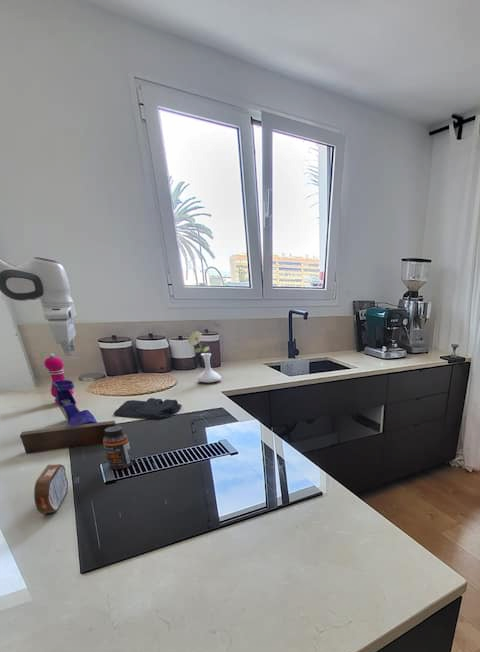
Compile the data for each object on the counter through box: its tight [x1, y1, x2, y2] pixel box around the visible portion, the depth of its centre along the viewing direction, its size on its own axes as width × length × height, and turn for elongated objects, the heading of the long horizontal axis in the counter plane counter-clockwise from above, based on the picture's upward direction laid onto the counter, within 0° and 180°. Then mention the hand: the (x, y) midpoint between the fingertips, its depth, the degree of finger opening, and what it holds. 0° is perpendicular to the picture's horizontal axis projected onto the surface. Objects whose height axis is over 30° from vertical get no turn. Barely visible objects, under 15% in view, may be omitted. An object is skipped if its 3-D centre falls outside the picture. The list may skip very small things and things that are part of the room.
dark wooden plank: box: [19, 420, 117, 455], centre depth 122 cm, size 24×3×6 cm, turn 118°
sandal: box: [51, 379, 99, 426], centre depth 136 cm, size 8×20×15 cm, turn 47°
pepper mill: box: [43, 352, 74, 405], centre depth 157 cm, size 7×7×20 cm
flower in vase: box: [187, 330, 222, 384], centre depth 191 cm, size 13×11×25 cm
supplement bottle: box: [102, 425, 134, 470], centre depth 109 cm, size 6×6×11 cm
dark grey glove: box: [113, 397, 183, 420], centre depth 153 cm, size 15×22×5 cm
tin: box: [33, 463, 69, 515], centre depth 91 cm, size 15×3×8 cm, turn 22°
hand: (70, 353), depth 137 cm, fingers open, 8 cm apart
